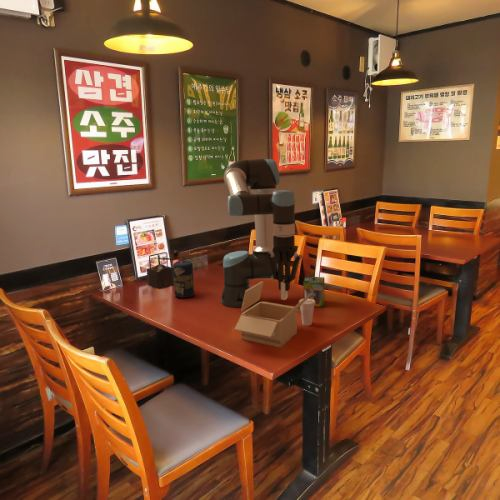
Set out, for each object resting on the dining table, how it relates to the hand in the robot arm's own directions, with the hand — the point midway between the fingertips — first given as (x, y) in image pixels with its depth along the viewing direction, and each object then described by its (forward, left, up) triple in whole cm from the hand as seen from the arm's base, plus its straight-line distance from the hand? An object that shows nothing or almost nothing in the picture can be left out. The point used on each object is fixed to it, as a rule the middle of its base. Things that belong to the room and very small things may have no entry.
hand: (284, 298), depth 154 cm
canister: (-65, +22, -16) cm, 71 cm away
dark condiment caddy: (-87, +33, -16) cm, 95 cm away
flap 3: (-6, +10, -7) cm, 14 cm away
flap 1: (-13, -1, -1) cm, 13 cm away
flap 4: (+5, -1, -2) cm, 6 cm away
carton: (-6, -1, -16) cm, 17 cm away
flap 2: (-6, -11, -7) cm, 15 cm away
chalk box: (-4, +40, -16) cm, 43 cm away
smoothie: (+2, +16, -16) cm, 23 cm away
